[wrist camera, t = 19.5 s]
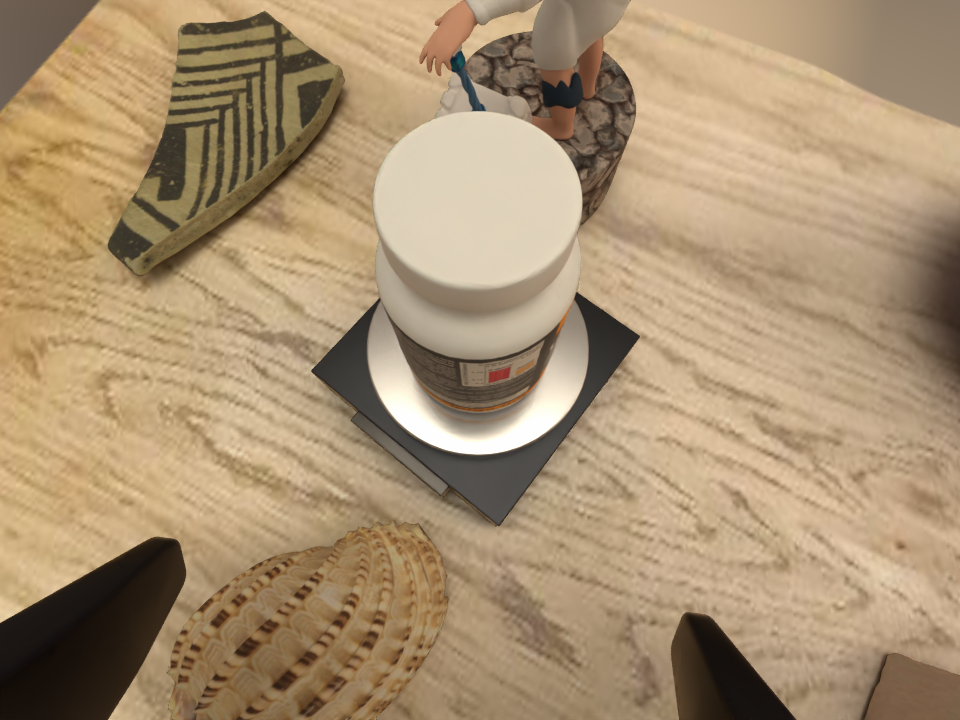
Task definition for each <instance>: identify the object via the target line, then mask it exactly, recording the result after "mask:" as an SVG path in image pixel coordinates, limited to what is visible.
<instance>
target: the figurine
mask: <svg viewBox="0 0 960 720" xmlns="http://www.w3.org/2000/svg"><path fill="white" fill-rule="evenodd" d="M540 1H542V0H463V1H461V2H460V3H458V4H456V5H455V6H454V7H453V8H451V9H450V10H448V11H447V12H446V13H445V14H444V15H443V16H442V17H441V18H439V19H438V20H437V21H436V22H435V25H436V26H438V28H437V29H436V31H435V32H434V33H433V35H432V36H431V38H430V39H429V41H428V42H427V43H426V45H425V46H424V48H423V50H422V52H421V55H420V61H419V62H420V64H422V63H423V61H424V59H425V57H426V56H427V69H428V72H429V73H430V72H431V71H432V64H433V59H434V57H435V59H436V61H435V69H436V73H437V74H438V75H439V76H441V64H442V63H444V64H445V65H446V67H447V68H448V70H451V71H452V72H454V73H453V74H452V76H451V78H450V80H449V83H448V85H449V88H448V91H445V92H444V94H443V96H442V99H441V101H440V103H441V108H440V109H439V110H438V111H437V113H436V115H435V118H434V119H436V118H439V117H442V116H445V115H449V114H453V113H458V112H472V111H485V112H495V113H500V114H505V115H509V116H513V117H516V118H519V119H521V120H524V121H526V122H528V123H530V124H532V125H534V126H536V127H537V128H539V129H541V130H542V131H543V132H545V133H546V134H548V135H549V136H550V137H551V138H553V139H554V140H555V141H556V142H557V143H558V144H559V145H560V146H561V147H562V149H563V150H564V151H565V152H566V154H567V155H568V156H569V158H570V160H571V161H572V163H573V165H574V167H575V169H576V171H577V174H578V177H579V180H580V184H581V191H582V216H581V221H580V224H581V223H583V222H584V221H586V220H587V219H588V218H589V217H590V216H591V215H592V214H593V213H594V212H595V211H596V210H597V208H598V207H599V206H600V204H601V203H602V201H603V199H604V197H605V195H606V193H607V191H608V189H609V187H610V184H611V182H612V179H613V177H614V174H615V172H616V169H617V167H618V164H619V162H620V159H621V156H622V154H623V151H624V149H625V146H626V144H627V141H628V139H629V136H630V134H631V131H632V128H633V125H634V122H635V116H636V102H635V96H634V92H633V89H632V86H631V84H630V81H629V79H628V77H627V76H626V74H625V73H624V71H623V70H622V68H621V67H620V66H619V65H618V64H617V63H616V62H615V61H614V60H613V59H612V58H611V57H610V56H609V55H608V54H607V53H605V52H604V51H603V36H604V35H606V34H607V33H608V32H610V31H611V30H612V29H613V28H614V27H615V26H616V25H617V23H618V22H619V21H620V19H621V17H622V15H623V13H624V11H625V9H626V8H627V6H628V4H629V2H630V1H631V0H544V1H543V3H542V4H541V6H540V8H539V10H538V13H537V16H536V19H535V22H534V26H533V31H531V32H523V33H517V34H512V35H509V36H505V37H502V38H500V39H497V40H495V41H493V42H491V43H489V44H487V45H485V46H484V47H482V48H481V49H479V50H478V51H477V52H475V53H474V54H473V55H472V56H471V57H470V58H469V59H468V60H467V61H466V62H465V57H464V55H463V53H462V51H461V49H462V43H463V42H464V41H465V40H466V39H467V38H468V37H469V36H470V34H471V32H472V31H473V28H474V26H475V25H477V24H478V23H479V24H480V25H485V24H487V23H488V22H489V21H490V20H492V19H494V18H497V17H500V16H504V15H508V14H511V13H514V12H517V11H519V12H525V11H527V10H529V9H530V8H532V7H533V6H535V5H536V4H538V3H539V2H540ZM580 224H579V225H580Z"/></svg>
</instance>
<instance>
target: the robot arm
mask: <svg viewBox="0 0 960 720" xmlns="http://www.w3.org/2000/svg"><path fill="white" fill-rule="evenodd" d="M185 578H186V567H185V563H184V559H183V554H182V550H181V546H180V543H179V542H178V541H177V540H176V539H171V538H164V537H153V538H150V539H148V540H146V541H145V542H143V543H141V544H139V545H138V546H136V547H134V548H132V549H130V550H129V551H127V552H125V553H123V554H122V555H120V556H118V557H116V558H115V559H113V560H111V561H109V562H107V563H106V564H104V565H102V566H100V567H99V568H97V569H95V570H93V571H92V572H90V573H88V574H86V575H84V576H83V577H81V578H79V579H77V580H76V581H74V582H72V583H70V584H69V585H67V586H65V587H63V588H61V589H60V590H58V591H56V592H54V593H53V594H51V595H49V596H47V597H45V598H44V599H42V600H40V601H38V602H37V603H35V604H33V605H31V606H30V607H28V608H26V609H24V610H22V611H21V612H19V613H17V614H15V615H14V616H12V617H10V618H8V619H7V620H5V621H3V622H1V623H0V720H108V719H109V717H110V716H111V714H112V712H113V711H114V709H115V708H116V706H117V705H118V703H119V701H120V700H121V698H122V697H123V695H124V694H125V692H126V690H127V689H128V687H129V686H130V684H131V683H132V681H133V679H134V678H135V676H136V674H137V673H138V671H139V669H140V667H141V666H142V664H143V662H144V660H145V658H146V656H147V655H148V653H149V651H150V649H151V647H152V645H153V643H154V641H155V639H156V637H157V635H158V633H159V631H160V629H161V627H162V626H163V624H164V622H165V620H166V618H167V616H168V614H169V612H170V610H171V608H172V606H173V604H174V602H175V600H176V598H177V597H178V595H179V593H180V591H181V589H182V587H183V585H184V582H185ZM671 660H672V668H673V676H674V684H675V692H676V700H677V707H678V715H679V720H796V719H795V718H794V716H793V715H792V714H791V713H790V712H789V710H788V709H787V708H786V707H785V706H784V704H783V703H782V702H781V701H780V700H779V698H778V697H777V696H776V695H775V693H774V692H773V691H772V690H771V689H770V687H769V686H768V685H767V684H766V683H765V681H764V680H763V679H762V678H761V677H760V675H759V674H758V673H757V672H756V671H755V669H754V668H753V667H752V666H751V665H750V663H749V662H748V661H747V660H746V658H745V657H744V656H743V655H742V654H741V652H740V651H739V650H738V649H737V648H736V646H735V645H734V644H733V643H732V642H731V640H730V639H729V638H728V637H727V636H726V634H725V633H724V632H723V631H722V630H721V628H720V627H719V626H718V625H717V623H716V622H715V621H714V620H713V619H712V618H711V617H710V616H708V615H705V614H698V613H691V612H686V613H684V614H683V616H682V617H681V620H680V623H679V625H678V628H677V630H676V633H675V636H674V638H673V641H672V645H671Z"/></svg>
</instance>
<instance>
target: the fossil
mask: <svg viewBox="0 0 960 720" xmlns="http://www.w3.org/2000/svg"><path fill="white" fill-rule="evenodd" d="M864 720H960V676H959V675H956V674H953V673H950V672H947V671H945V670H942V669H939V668H936V667H934V666H930V665H926V664H923V663H920V662H917V661H914V660H912V659H910V658H908V657H905V656H903V655H900V654H898V653H892V654H890V655H888V656H887V659H886V663H885V666H884V668H883V669H882V674H881V679H880V683H879V684H878V685H877V686H876V688H875V691H874V694H873V696H872V699H871V701H870V704H869V707H868V711H867V713H866V716H865V718H864Z"/></svg>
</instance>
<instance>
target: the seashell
mask: <svg viewBox="0 0 960 720" xmlns="http://www.w3.org/2000/svg"><path fill="white" fill-rule="evenodd" d="M446 577H447V575H446V573H445V570H444V566H443V561H442V557H441V555H440V553H439V551H438V550H437V549H436V547H435V545H434V544H433V543H432V541H431V540H430V539H429V537H428V536H427V535H426V533H425V532H424V531H423V529H422V528H421V527H420V525H419V524H418V523H417V524H415V525H414V524H409V523H407V522H405V523H404V524H403V525H397V523H396V521H394V520H392V521H391V522H390V523H389V524H388V525H383V524H381V523H379V522H375V524H374V526H373V527H371V528H364V527H358V530H357V531H350V532H347V535H346V536H345V537H344V538H342V539H339V540H337V541H336V543H335V544H334V546H333V547H314V548H310V549H308V550H305V551H302V552H292V553H286V554H282V555H278V556H275V557H272V558H270V559H267V560H265V561H263V562H261V563H259V564H257V565H255V566H253V567H252V568H250V569H249V570H247V571H246V572H244V573H243V574H241V575H239V576H237V577H236V578H235V579H234V580H232V581H231V582H230V583H228V584H227V585H226V586H225V587H223V588H222V589H221V590H220V591H218V592H217V593H216V594H214V595H213V596H212V597H211V598H210V599H209V600H208V601H206V602H205V603H204V604H203V605H202V606H201V607H200V608H199V609H198V610H197V611H196V612H195V613H194V615H193V616H192V617H191V618H190V619H189V621H188V622H187V623H186V624H185V626H184V627H183V629H182V631H181V633H180V634H179V636H178V637H177V641H176V643H175V645H174V649H173V652H172V655H171V661H170V665H169V666H168V668H169V670H168V672H167V674H168V675H170V676H171V677H172V678H173V679H174V681H175V683H176V684H175V686H174V689H173V692H172V696H171V699H170V702H169V704H168V709H169V711H170V712H171V713H172V715H171V719H170V720H373V719H374V718H375V717H377V716H378V715H379V714H380V713H381V712H382V711H383V710H384V709H385V708H386V707H387V706H388V705H389V704H390V703H391V702H392V701H393V699H394V698H395V697H396V696H397V695H398V694H399V693H400V691H401V690H402V689H403V688H404V687H405V686H406V684H407V683H408V682H409V681H410V680H411V678H412V677H413V675H414V674H415V672H416V671H417V670H418V668H419V667H420V665H421V664H422V662H423V661H424V659H425V658H426V656H427V655H428V653H429V651H430V650H431V648H432V646H433V644H434V642H435V641H436V639H437V637H438V635H439V632H440V630H441V627H442V624H443V621H444V618H445V615H446V610H447V604H448V599H449V598H448V597H444V591H445V581H446Z"/></svg>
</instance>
